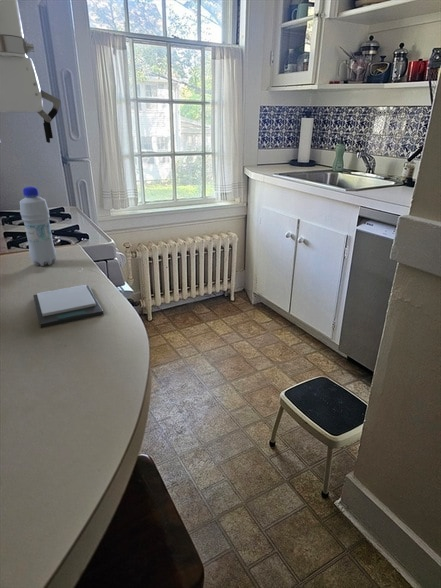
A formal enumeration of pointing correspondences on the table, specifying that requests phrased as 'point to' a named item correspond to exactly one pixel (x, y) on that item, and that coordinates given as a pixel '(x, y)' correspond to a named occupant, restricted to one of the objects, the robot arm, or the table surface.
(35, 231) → the bottle
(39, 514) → the table surface
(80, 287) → the scale
